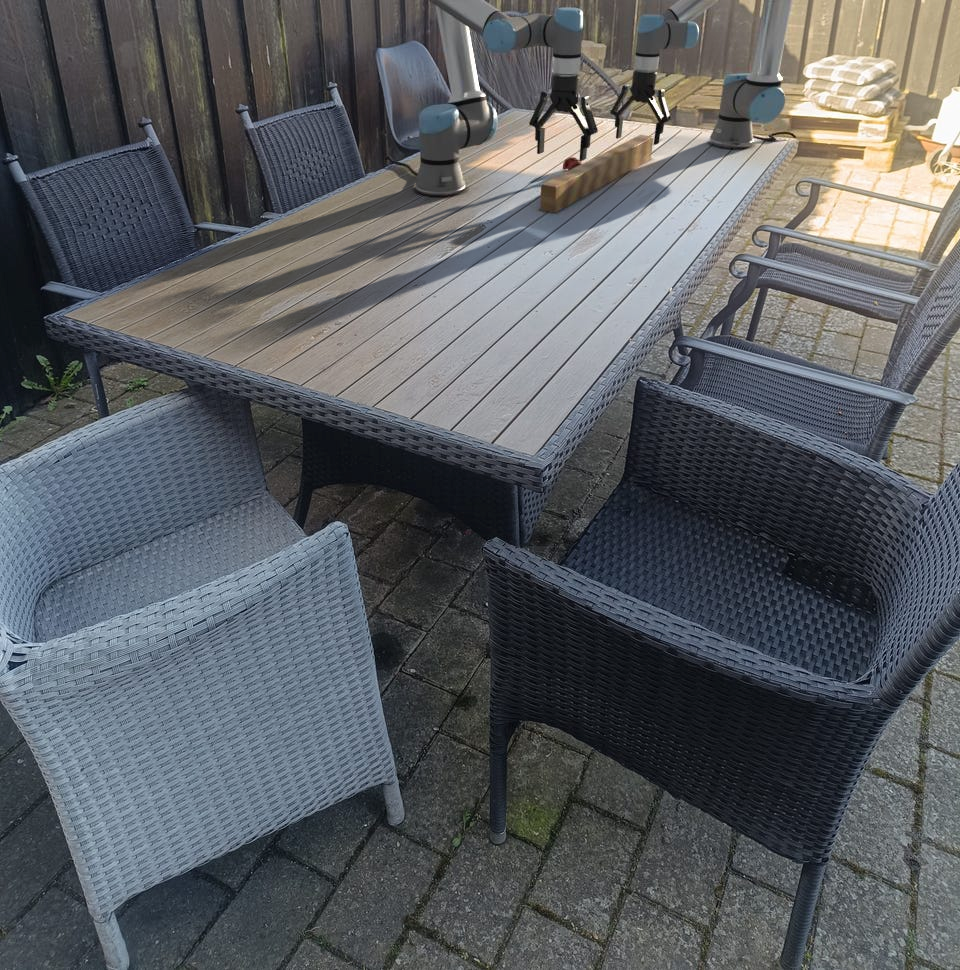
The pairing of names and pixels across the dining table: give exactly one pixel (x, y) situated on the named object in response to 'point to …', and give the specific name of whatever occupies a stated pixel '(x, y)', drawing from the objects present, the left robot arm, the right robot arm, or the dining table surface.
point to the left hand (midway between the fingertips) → (561, 156)
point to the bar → (594, 173)
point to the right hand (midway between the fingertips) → (637, 140)
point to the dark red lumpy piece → (571, 163)
